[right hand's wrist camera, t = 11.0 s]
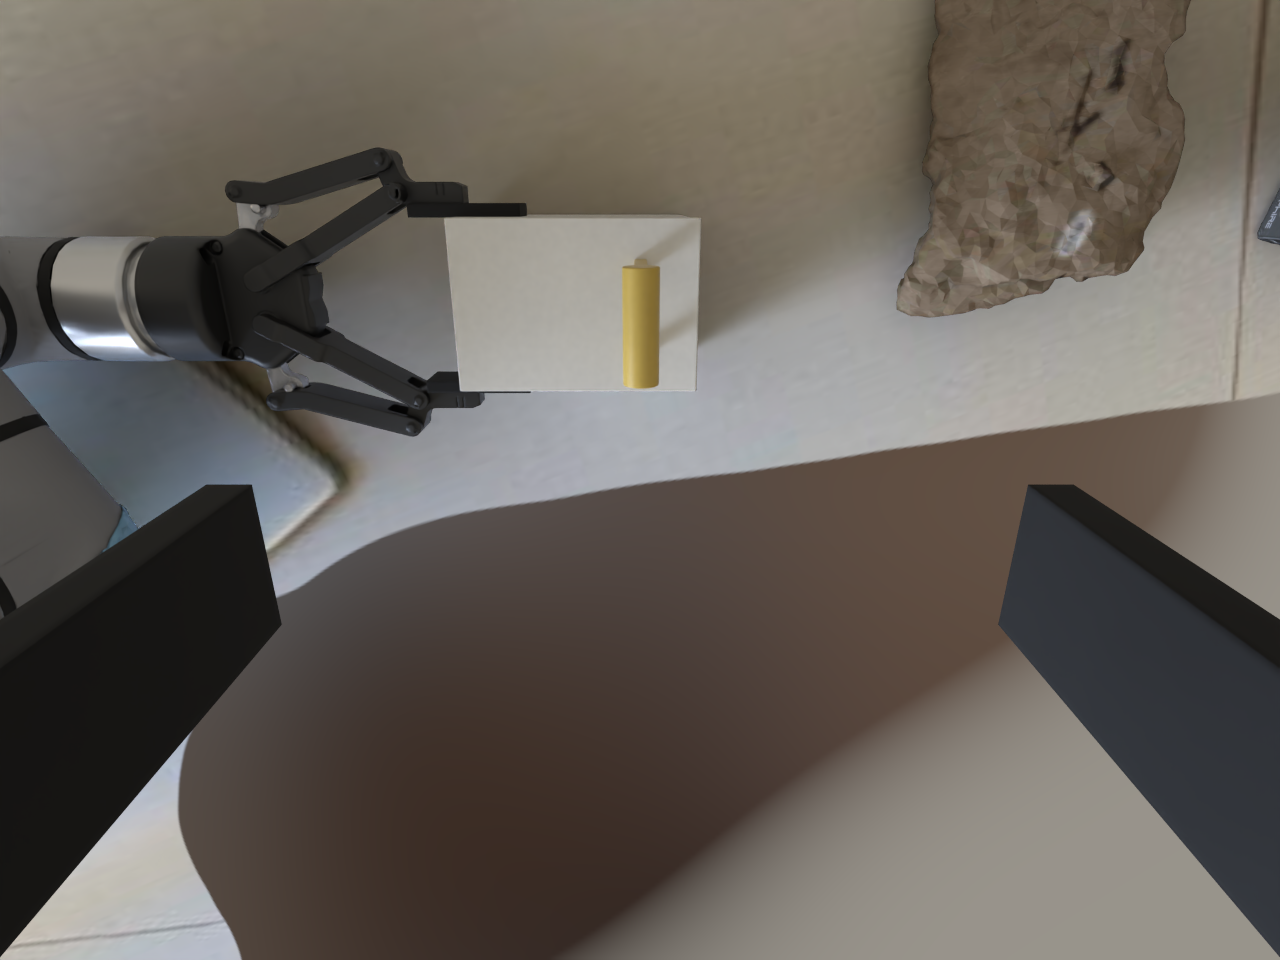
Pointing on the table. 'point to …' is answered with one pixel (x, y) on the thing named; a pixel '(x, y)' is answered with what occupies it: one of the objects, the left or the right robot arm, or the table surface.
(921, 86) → the table surface
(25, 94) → the table surface
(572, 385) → the lid
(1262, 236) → the graphics card box
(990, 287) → the stone
